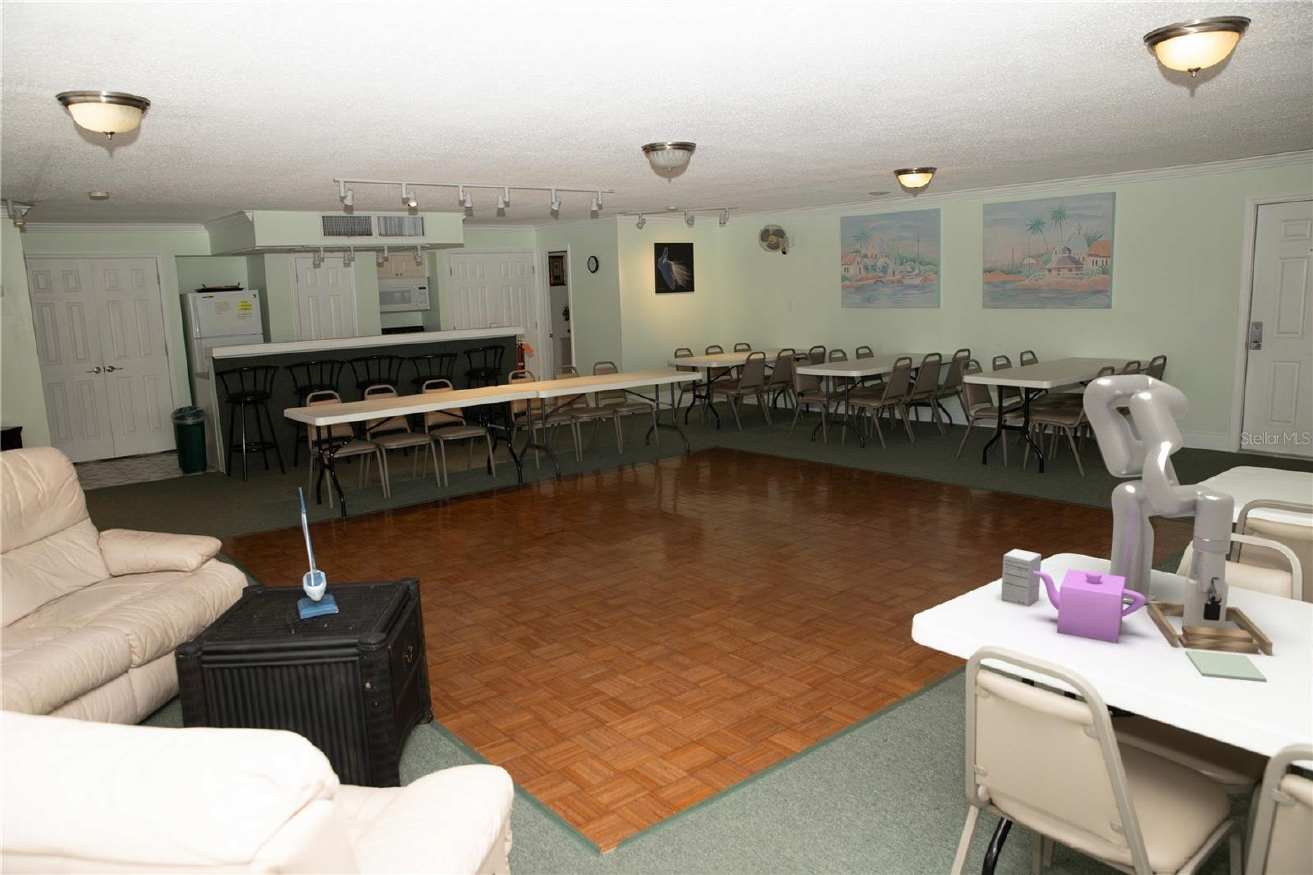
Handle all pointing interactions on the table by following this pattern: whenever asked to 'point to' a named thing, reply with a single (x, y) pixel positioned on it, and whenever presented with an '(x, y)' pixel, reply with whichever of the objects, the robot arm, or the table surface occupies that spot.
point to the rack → (1232, 613)
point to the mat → (1225, 666)
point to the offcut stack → (1218, 639)
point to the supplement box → (1021, 577)
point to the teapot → (1091, 604)
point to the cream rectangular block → (1201, 607)
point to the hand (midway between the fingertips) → (1204, 612)
